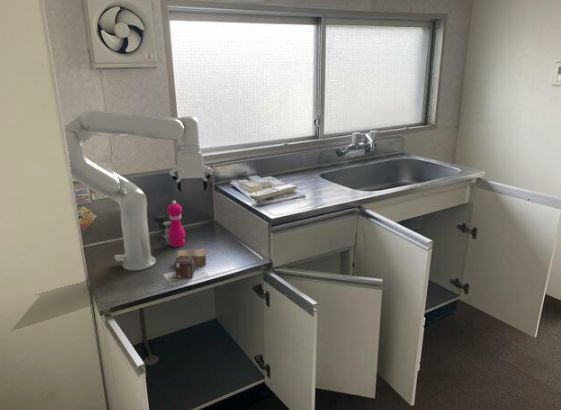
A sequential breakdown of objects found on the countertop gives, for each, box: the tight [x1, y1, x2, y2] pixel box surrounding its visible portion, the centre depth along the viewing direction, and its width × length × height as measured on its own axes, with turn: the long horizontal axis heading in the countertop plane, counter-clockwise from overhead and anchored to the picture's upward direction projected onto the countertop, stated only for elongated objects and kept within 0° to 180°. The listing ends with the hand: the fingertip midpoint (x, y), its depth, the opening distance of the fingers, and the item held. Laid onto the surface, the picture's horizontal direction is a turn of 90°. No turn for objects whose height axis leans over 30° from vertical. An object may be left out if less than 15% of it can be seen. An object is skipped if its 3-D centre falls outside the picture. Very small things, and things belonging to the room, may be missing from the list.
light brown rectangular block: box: [175, 248, 207, 267], centre depth 176 cm, size 11×7×4 cm, turn 97°
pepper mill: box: [167, 200, 186, 248], centre depth 192 cm, size 7×7×20 cm
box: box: [174, 255, 196, 279], centre depth 165 cm, size 6×6×7 cm
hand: (192, 190), depth 179 cm, fingers open, 9 cm apart
